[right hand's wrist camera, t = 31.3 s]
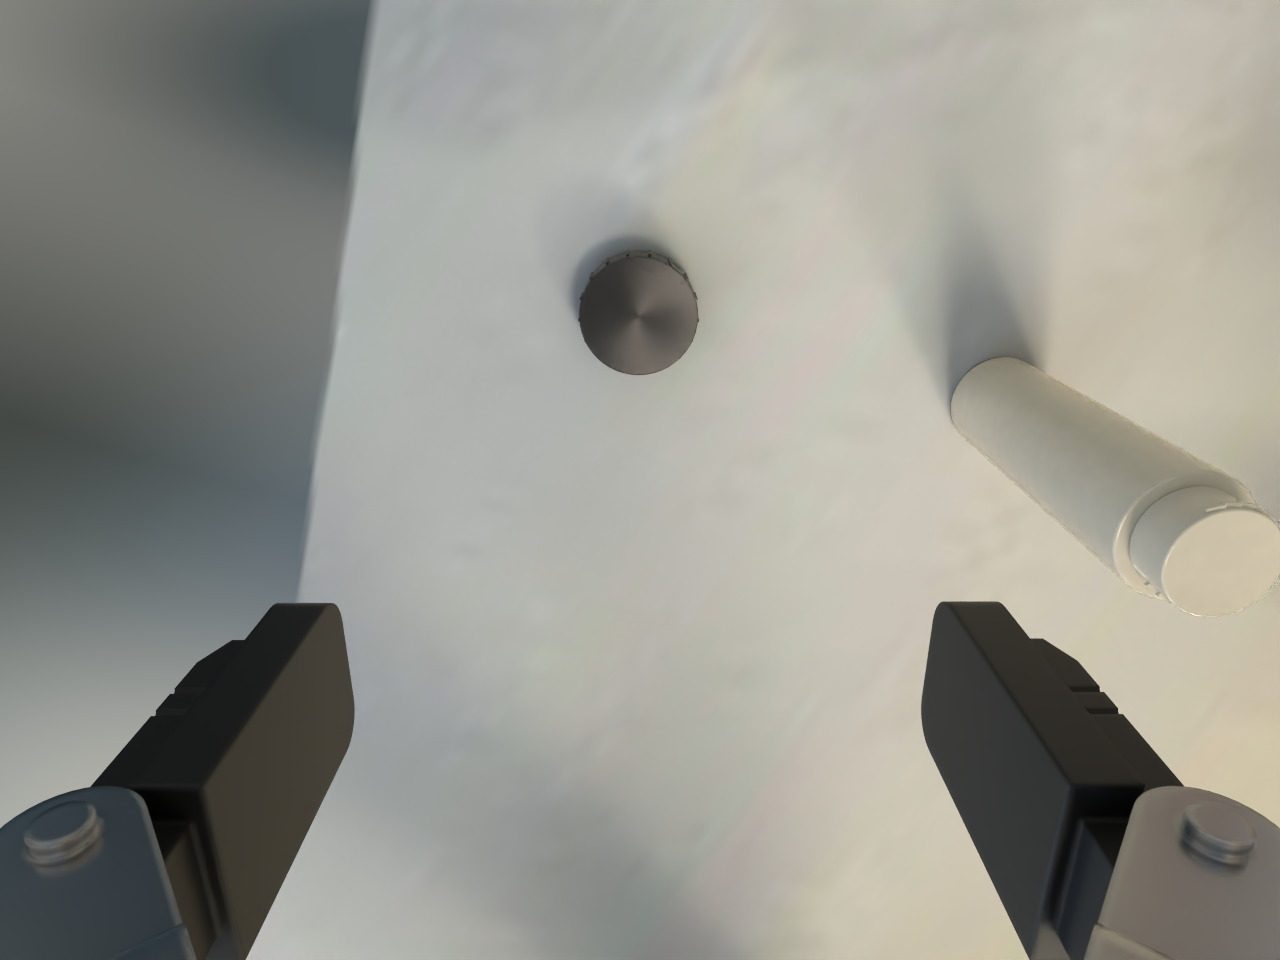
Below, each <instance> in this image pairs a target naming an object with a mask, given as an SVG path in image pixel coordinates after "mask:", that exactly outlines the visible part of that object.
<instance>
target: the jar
mask: <svg viewBox="0 0 1280 960" xmlns="http://www.w3.org/2000/svg"><path fill="white" fill-rule="evenodd" d="M951 416H952V420H953V423H954V426H955V428H956V429H957V431H958V432H959V434H960V435H961V436H962V437H963V438H964V439H965V440H967V441H968V442H969V443H970V444H971V445H972V446H973V447H974V448H975V449H977V450H978V451H979V452H980V453H981V454H982V455H983V456H984V457H985V458H987V459H988V460H989V461H990V462H991V463H992V464H993V465H994V466H995V467H997V468H998V469H999V470H1000V471H1001V472H1002V473H1003V474H1004V475H1005V476H1007V477H1008V478H1009V479H1010V480H1011V481H1012V482H1013V483H1014V484H1015V485H1017V486H1018V487H1019V488H1020V489H1021V490H1022V491H1023V492H1024V493H1025V494H1027V495H1028V496H1029V497H1030V498H1031V499H1032V500H1033V501H1034V502H1035V503H1037V504H1038V505H1039V506H1040V507H1041V508H1042V509H1043V510H1044V511H1045V512H1047V513H1048V514H1049V515H1050V516H1051V517H1052V518H1053V519H1054V520H1055V521H1057V522H1058V523H1059V524H1060V525H1061V526H1062V527H1063V528H1064V529H1065V530H1067V531H1068V532H1069V533H1070V534H1071V535H1072V536H1073V537H1074V538H1075V539H1077V540H1078V541H1079V542H1080V543H1081V544H1082V545H1083V546H1084V547H1085V548H1087V549H1088V550H1089V551H1090V552H1091V553H1092V554H1093V555H1094V556H1095V557H1097V558H1098V559H1099V560H1100V561H1101V562H1102V563H1103V564H1104V565H1106V566H1107V567H1108V568H1109V569H1110V570H1111V571H1112V572H1113V573H1114V574H1116V575H1117V576H1118V577H1119V578H1120V579H1121V580H1122V581H1123V582H1124V583H1126V584H1127V585H1128V586H1129V587H1130V588H1131V589H1133V590H1135V591H1136V592H1138V593H1140V594H1142V595H1145V596H1148V597H1152V598H1156V599H1163V600H1166V601H1168V602H1169V603H1171V604H1173V605H1174V606H1175V607H1176V608H1178V609H1179V610H1181V611H1183V612H1185V613H1188V614H1191V615H1195V616H1200V617H1219V616H1224V615H1229V614H1232V613H1235V612H1238V611H1240V610H1242V609H1244V608H1246V607H1248V606H1250V605H1251V604H1253V603H1254V602H1256V601H1257V600H1259V599H1260V598H1261V597H1262V596H1263V595H1264V594H1265V593H1266V592H1267V591H1268V590H1269V589H1270V588H1271V587H1272V586H1273V584H1274V583H1275V582H1276V580H1277V579H1278V577H1279V575H1280V528H1279V527H1278V525H1277V524H1276V523H1277V521H1276V520H1275V519H1274V518H1273V517H1272V516H1271V515H1270V514H1269V512H1268V511H1266V510H1264V509H1262V508H1261V507H1259V506H1257V505H1256V503H1255V501H1254V499H1253V497H1252V495H1251V493H1250V492H1249V491H1248V489H1247V488H1246V487H1245V486H1244V485H1243V484H1242V483H1241V482H1239V481H1238V480H1236V479H1235V478H1233V477H1231V476H1230V475H1228V474H1226V473H1224V472H1222V471H1221V470H1219V469H1217V468H1215V467H1213V466H1212V465H1210V464H1208V463H1206V462H1204V461H1203V460H1201V459H1199V458H1197V457H1195V456H1194V455H1192V454H1190V453H1188V452H1187V451H1185V450H1183V449H1181V448H1179V447H1178V446H1176V445H1174V444H1172V443H1170V442H1169V441H1167V440H1165V439H1163V438H1161V437H1160V436H1158V435H1156V434H1154V433H1152V432H1151V431H1149V430H1147V429H1145V428H1143V427H1142V426H1140V425H1138V424H1136V423H1135V422H1133V421H1131V420H1129V419H1127V418H1126V417H1124V416H1122V415H1120V414H1118V413H1117V412H1115V411H1113V410H1111V409H1109V408H1108V407H1106V406H1104V405H1102V404H1100V403H1099V402H1097V401H1095V400H1093V399H1091V398H1090V397H1088V396H1086V395H1084V394H1082V393H1081V392H1079V391H1077V390H1075V389H1074V388H1072V387H1070V386H1068V385H1066V384H1065V383H1063V382H1061V381H1059V380H1057V379H1056V378H1054V377H1052V376H1050V375H1048V374H1047V373H1045V372H1043V371H1041V370H1039V369H1038V368H1036V367H1034V366H1032V365H1030V364H1029V363H1027V362H1025V361H1023V360H1020V359H1017V358H1011V357H1000V358H994V359H990V360H988V361H985V362H983V363H981V364H979V365H977V366H976V367H974V368H973V369H971V370H970V371H969V372H968V373H967V374H966V375H965V376H964V377H963V378H962V380H961V381H960V382H959V384H958V386H957V387H956V389H955V392H954V394H953V398H952V403H951Z"/></svg>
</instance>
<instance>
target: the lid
mask: <svg viewBox="0 0 1280 960" xmlns="http://www.w3.org/2000/svg"><path fill="white" fill-rule="evenodd" d="M589 279H590V280H589V282H588V284H587V286H586V288H585V291H584V292H582V294H581V297H580V300H581V304H580V313H579V319H578V321H579V322H580V327H581V331H582V334H583V337H584V340H585V343H586V344H587V345H588V347H589V349H590V350H591V351H592V353H593V354H594V355H595V356H596V357H597V358H598V359H599V360H600V361H601V362H602V363H604V364H605V365H607V366H608V367H610V368H612V369H614V370H616V371H619V372H622V373H626V374H632V375H645V374H651V373H655V372H658V371H661V370H663V369H665V368H667V367H669V366H671V365H672V364H674V363H675V362H676V361H677V360H678V359H680V358H681V356H682V355H683V354H684V353H685V352H686V350H687V349H688V348H689V346H690V344H691V343H692V341H693V338H694V335H695V332H696V328H697V322H699V319H698V309H697V303H696V300H698V299H697V296H696V293H695V292H693V290H692V287H691V285H690V283H689V281H688V277H687V274H686V273H683V272H682V271H681V270H680V268H679V267H677V266H676V265H675V264H674V263H673V262H672V260H671V259H670V258H669V259H667V258H665V257H663V256H661V255H658V254H655V253H652V252H651V250H648V252H647V251H630V252H629V250H627V251H626V253H622V254H619V255H616V256H614V257H612V258H610V259H609V258H607V259H606V262H604V263H603V264H602V265H601V266H600V267H599V268H598V269H597V270H596V271H595V272H594V273H593V272H592V273H591V275H590V277H589Z"/></svg>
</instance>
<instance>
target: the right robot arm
mask: <svg viewBox="0 0 1280 960" xmlns="http://www.w3.org/2000/svg"><path fill="white" fill-rule="evenodd" d="M921 716H922V726H923V732H924V736H925V740H926V743H927V746H928V749H929V751H930V753H931V755H932V757H933V759H934V761H935V763H936V765H937V768H938V770H939V772H940V774H941V776H942V778H943V780H944V782H945V784H946V786H947V788H948V790H949V793H950V795H951V797H952V799H953V801H954V803H955V805H956V807H957V809H958V811H959V813H960V815H961V818H962V820H963V822H964V824H965V826H966V828H967V830H968V832H969V834H970V836H971V838H972V841H973V843H974V845H975V847H976V849H977V851H978V853H979V855H980V857H981V859H982V861H983V863H984V866H985V868H986V870H987V872H988V874H989V876H990V878H991V880H992V882H993V884H994V886H995V888H996V891H997V893H998V895H999V897H1000V899H1001V901H1002V903H1003V905H1004V907H1005V909H1006V911H1007V914H1008V916H1009V918H1010V920H1011V922H1012V924H1013V926H1014V928H1015V930H1016V932H1017V934H1018V936H1019V939H1020V941H1021V943H1022V945H1023V947H1024V949H1025V951H1026V953H1027V955H1028V957H1029V959H1030V960H1280V828H1279V827H1277V826H1276V825H1275V824H1274V823H1272V822H1271V821H1270V820H1268V819H1267V818H1266V817H1264V816H1263V815H1261V814H1259V813H1258V812H1256V811H1254V810H1253V809H1251V808H1249V807H1247V806H1245V805H1243V804H1241V803H1239V802H1237V801H1235V800H1232V799H1230V798H1227V797H1225V796H1222V795H1219V794H1216V793H1213V792H1210V791H1206V790H1201V789H1197V788H1191V787H1184V785H1183V784H1182V783H1181V782H1180V781H1179V780H1178V778H1177V777H1176V776H1175V775H1174V774H1173V773H1172V771H1171V770H1170V769H1169V768H1168V767H1167V766H1166V764H1165V763H1164V762H1163V761H1162V760H1161V758H1160V757H1159V756H1158V755H1157V754H1156V753H1155V751H1154V750H1153V749H1152V748H1151V747H1150V746H1149V744H1148V743H1147V742H1146V741H1145V740H1144V738H1143V737H1142V736H1141V735H1140V734H1139V733H1138V731H1137V730H1136V729H1135V728H1134V727H1133V726H1132V724H1131V723H1130V722H1129V721H1128V720H1127V719H1126V717H1125V716H1124V715H1123V714H1119V713H1118V708H1117V707H1116V706H1115V704H1114V703H1113V702H1112V701H1111V700H1110V699H1109V697H1108V696H1107V695H1106V694H1105V693H1104V692H1100V689H1099V686H1098V684H1097V683H1096V682H1095V681H1094V680H1093V679H1092V677H1091V676H1090V675H1089V674H1088V673H1087V672H1086V670H1085V669H1084V668H1083V667H1082V666H1081V664H1080V663H1079V662H1078V661H1077V660H1075V659H1074V658H1072V657H1071V656H1069V655H1067V654H1066V653H1064V652H1063V651H1061V650H1060V649H1058V648H1057V647H1055V646H1053V645H1052V644H1050V643H1049V642H1047V641H1046V640H1044V639H1030V638H1029V637H1028V635H1027V634H1026V633H1025V632H1024V630H1023V629H1022V628H1021V627H1020V625H1019V624H1018V623H1017V622H1016V620H1015V619H1014V618H1013V617H1012V615H1011V614H1010V613H1009V611H1008V610H1007V609H1006V608H1005V607H1004V605H1003V604H1001V603H1000V602H941V603H940V604H939V605H938V606H937V608H936V610H935V614H934V618H933V624H932V631H931V638H930V645H929V652H928V659H927V666H926V673H925V680H924V687H923V694H922V703H921ZM353 725H354V697H353V690H352V684H351V677H350V670H349V663H348V656H347V649H346V642H345V636H344V629H343V622H342V617H341V613H340V611H339V608H338V607H337V605H335V604H334V603H277V604H274V605H273V606H272V607H271V608H270V609H269V610H268V612H267V613H266V614H265V615H264V617H263V618H262V619H261V620H260V622H259V623H258V624H257V626H256V627H255V628H254V629H253V630H252V632H251V633H250V634H249V635H248V637H247V638H246V639H245V640H232V641H230V642H229V643H227V644H225V645H224V646H222V647H221V648H219V649H218V650H216V651H214V652H213V653H211V654H210V655H208V656H207V657H205V658H204V659H202V660H200V661H199V662H197V663H196V664H195V666H194V667H193V668H192V669H191V670H190V672H189V673H188V674H187V675H186V676H185V677H184V678H183V680H182V681H181V682H180V683H179V684H178V685H177V687H176V688H175V693H174V694H170V695H169V696H168V697H167V698H166V699H165V701H164V702H163V703H162V704H161V705H160V706H159V708H158V709H157V710H156V715H155V716H151V717H150V718H149V719H148V720H147V722H146V723H145V724H144V725H143V726H142V727H141V729H140V730H139V731H138V732H137V733H136V734H135V736H134V737H133V738H132V739H131V740H130V741H129V742H128V744H127V745H126V746H125V747H124V748H123V749H122V751H121V752H120V753H119V754H118V755H117V756H116V758H115V759H114V760H113V761H112V762H111V764H110V765H109V766H108V767H107V768H106V769H105V770H104V772H103V773H102V774H101V775H100V776H99V777H98V779H97V780H96V781H95V782H94V783H93V784H92V786H91V787H89V788H83V789H79V790H74V791H70V792H67V793H64V794H61V795H58V796H55V797H53V798H50V799H48V800H45V801H43V802H41V803H39V804H37V805H35V806H33V807H31V808H29V809H27V810H26V811H24V812H23V813H21V814H19V815H18V816H16V817H14V818H13V819H12V820H10V821H9V822H8V823H6V824H5V825H4V826H3V827H1V828H0V960H246V958H247V956H248V954H249V952H250V950H251V947H252V945H253V943H254V941H255V939H256V937H257V935H258V933H259V931H260V929H261V927H262V925H263V923H264V921H265V919H266V917H267V915H268V912H269V910H270V908H271V906H272V904H273V902H274V900H275V898H276V896H277V894H278V892H279V890H280V888H281V886H282V884H283V882H284V879H285V877H286V875H287V873H288V871H289V869H290V867H291V865H292V863H293V861H294V859H295V857H296V855H297V853H298V851H299V849H300V847H301V844H302V842H303V840H304V838H305V836H306V834H307V832H308V830H309V828H310V826H311V824H312V822H313V820H314V818H315V816H316V814H317V811H318V809H319V807H320V805H321V803H322V801H323V799H324V797H325V795H326V793H327V791H328V789H329V787H330V785H331V783H332V781H333V779H334V776H335V774H336V772H337V770H338V768H339V766H340V764H341V762H342V760H343V758H344V756H345V754H346V752H347V749H348V747H349V744H350V741H351V737H352V732H353Z"/></svg>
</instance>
